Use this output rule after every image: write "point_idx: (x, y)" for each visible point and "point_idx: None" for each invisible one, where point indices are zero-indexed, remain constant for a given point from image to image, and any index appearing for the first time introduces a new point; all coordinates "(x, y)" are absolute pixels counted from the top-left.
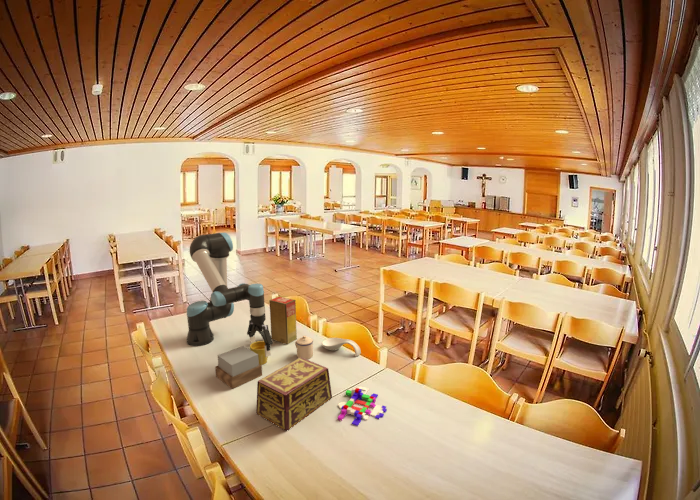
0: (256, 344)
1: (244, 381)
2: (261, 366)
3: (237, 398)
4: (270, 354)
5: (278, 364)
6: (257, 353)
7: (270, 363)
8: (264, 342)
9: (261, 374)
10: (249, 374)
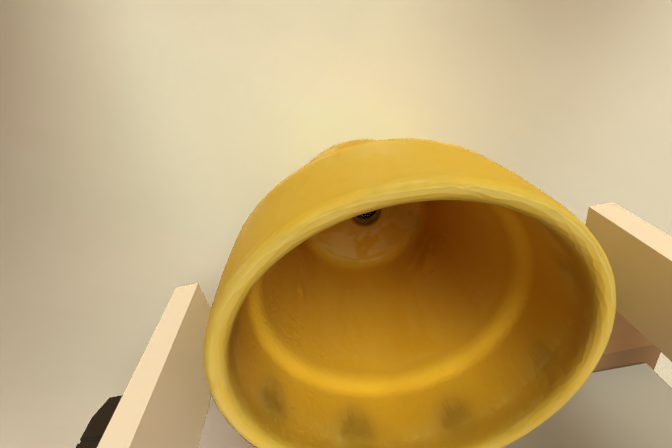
0: (239, 341)
1: None
2: None
3: None
4: (623, 210)
5: (555, 58)
6: (503, 372)
7: (461, 130)
8: (301, 236)
9: None
10: None
